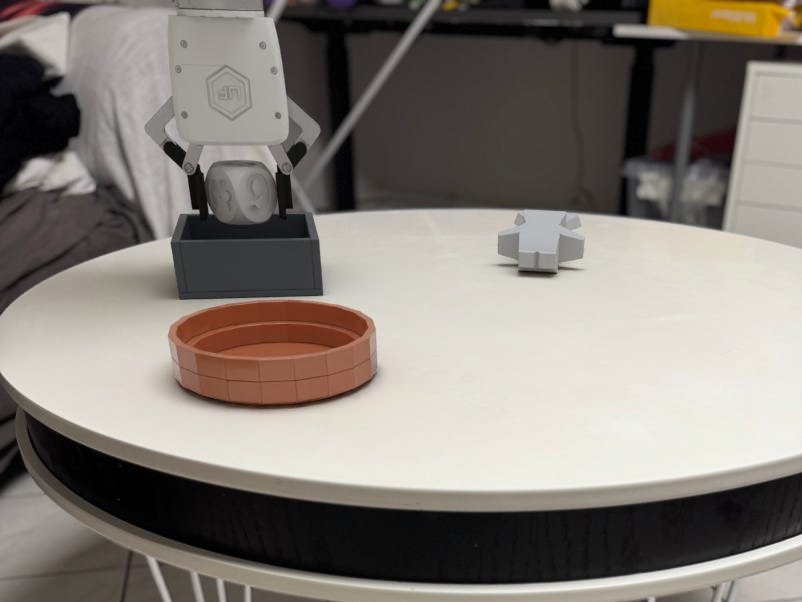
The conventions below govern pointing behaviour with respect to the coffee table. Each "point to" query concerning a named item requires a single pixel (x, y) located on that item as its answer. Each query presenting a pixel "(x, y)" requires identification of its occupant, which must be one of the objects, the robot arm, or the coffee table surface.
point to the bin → (247, 257)
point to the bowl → (273, 351)
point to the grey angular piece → (542, 240)
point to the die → (241, 192)
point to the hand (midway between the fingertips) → (244, 216)
